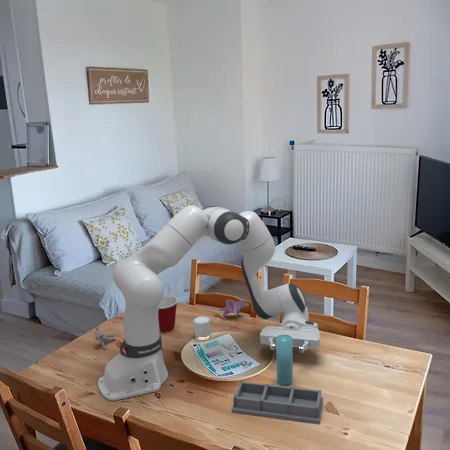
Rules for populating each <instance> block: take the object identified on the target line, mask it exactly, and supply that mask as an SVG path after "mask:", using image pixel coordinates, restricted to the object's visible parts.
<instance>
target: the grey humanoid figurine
mask: <svg viewBox="0 0 450 450" xmlns="http://www.w3.org/2000/svg"><path fill="white" fill-rule="evenodd" d="M99 328H100V327H98V326H95V328H94V329H95V332H94V334H95V337H94V339H95V341H98V343H100V344H101V346H102V348H103V350H104V351H107V345H105V343H107V342H109V341H116V340H117V337H115V335H116V334H115V333H111V334H109V333H108V334H106V333H100V330H99Z"/></svg>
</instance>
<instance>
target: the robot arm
mask: <svg viewBox="0 0 450 450" xmlns="http://www.w3.org/2000/svg"><path fill="white" fill-rule="evenodd" d="M205 236H206V237H209V238H210V239H211V240H213V241H214V242H217V243H221V244H224V245H234V244H239V246H240V248H241V250H242V252H243V257H242V258H241V259H240V268H241V272H242V275H243V276H242V277H243V279H244V281H245V284H246V287H247V291H248V293H249V296H250V300H251V303H252V308H253V312H254V313H255V315H256V316H257V317H258V318H260V319H262V320H269V319H270V318H274V317H275V316H279V315H282V314H284V315H283V317H282V318H283V319H282V321H281V324H280V326H278V325H277V326H276V325H266V326H264V327H263V328H262V329H261V331H260V333H259V342H260V344H261V345H269V347H270V348H269V349H270V350H271V351H272V350H274V351H276V337H277V336H279V335H289V336H291V337H292V348H299V349H298V350H299V351H298V352H299V353H303V354H304V353H305V351H306V350H309V349H312V350H318V349H320V348H321V333H320V330H319V326H318V323H317V322H315V321H314V322H313V321H310V320H309V310H308V306H307V302H306V298H305V295H304V293H303V290H302V289H301V288H300V287H299V286H297V285H296V284H294V283H292V282H289V283H286V284H283V285H279V286H277V287H273V288H270V289H267V290H265V289H262V287H261V284H260V281H259V278H258V276H257V273H258V272H259V271H260V270H261V269H263V268H264V267H265V266H266V265H268V263H269V262H270V261H271V260H272V259H273V257H274V254H275V251H276V244H275V241H274V238H273V236H272V234H271V233H270V231H269V229H268V227H267V226H266V224H265V223H264V221H263V220H262V219H261V217H260V216H259V215H258V214H257V213H256V212H254V211H252V210H245V211H242V212H239V213H238V212H235V211H233V210H230V209H229V208H226V207H222V206H217V205H210V206H209V205H208V206H206V207H203V208H200V207H199V206H198V205H197V206H196V205H193V204H192V205H191V204H190V205H187V206H185V207H184V208H183V209H181V210H180V211H178V212H177V213H176V214H175V215H174V216H172V218H171V219H169V220H168V221H167V223H165V225H163V227H162V228H161V229H159V231H158V232H157V233H156V234H155V235H154V236H153V237H152V238H151V239H150V240H149V241H148V242H147V243H146V244H144V246H142V247H141V248H140V249H138V250H137V251H135V252H133V253H132V254H131V255H129V256H127V257H125V258H124V257H123V258H121V259H120V260H118V261H117V262H116V263H115V264H114V266H113V268H112V273H111V275H112V279H113V282H114V284H115V286H116V287H117V288H118V290H119V291H120V292H121V293H122V295H123V297H124V301H125V302H124V303H125V308H124V309H125V310H124V314H123V317H122V324H123V333H124V335H123V336H124V339H123V341H121V340H120V339H116V340H115V342H114V345H115V346H116V348H119V352H117V354H116V355H115V356H114V357H113V358H112V359H111V360H110V361H109V362H108V363H106V365H105V367H104V372H103V373H104V375H103V376H101V377H99V379H98V380H97V389H98V391H99V393H100V395H101V396H102V397H103V398H105V399H107V400H108V401H112V402H114V401H119V400H123V399H128V398H131V397H132V398H133V397H137V396H140V395H145V394H150V393H153V392H158V391H159V390H160V389H161V387H162V384H163V383H165V382H166V380H167V379H168V377H169V371H168V369H167V367H166V364H165V360H164V356H163V352H162V351H163V340H162V339H163V338H162V335H161V334H160V329H159V321H158V309H159V303H160V301H161V299H162V298H163V296H165V295H164V294H165V287H164V284H163V282H162V280H161V279H160V277H159V276H158V275H159V274H161V273H163V272H164V271H165V270H166V269H169V268H173V267H175V266H176V265H177V264H178V263H179V262H180V261H181V260H183V258H184V257H185V255H186V254H187V253H188V252H189V251H190V250H191V249H192V247H194V246H195V244H196V243H197V242H198V241H199V240H200V239H201V238H203V237H205Z"/></svg>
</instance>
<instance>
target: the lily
mask: <svg viewBox="0 0 450 450" xmlns="http://www.w3.org/2000/svg"><path fill="white" fill-rule="evenodd" d="M244 301H245V300H244V299H241V300H238V301H237V302H236V301H234V300H233V299H226V300H225V307H222V308H220V309H219V310H218V311H221V312H223V314H222V316H223V317H224V316H226V315H229V314H230V313H233V314H235V318H236V323H237V324H238V323H239V321H238V316H237V314H238V315H240V314H241V309H242V308H245V307H248V306H250V305H251V304H250V303H245V302H244Z"/></svg>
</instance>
